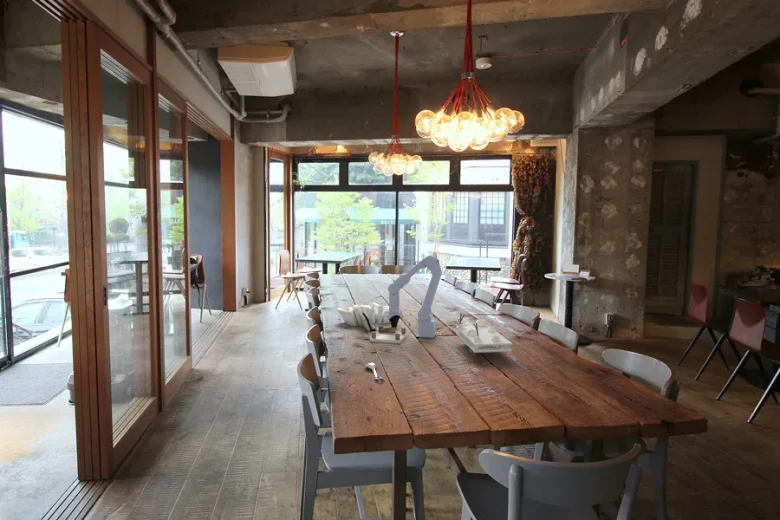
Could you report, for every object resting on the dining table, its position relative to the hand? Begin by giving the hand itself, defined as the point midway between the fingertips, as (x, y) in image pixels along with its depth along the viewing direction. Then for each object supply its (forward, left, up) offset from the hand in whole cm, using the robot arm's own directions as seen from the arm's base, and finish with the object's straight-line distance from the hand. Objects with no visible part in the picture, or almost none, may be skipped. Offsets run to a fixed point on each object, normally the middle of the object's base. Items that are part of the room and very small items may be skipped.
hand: (394, 329), depth 259 cm
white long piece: (-10, +66, -3) cm, 67 cm away
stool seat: (0, +10, -3) cm, 10 cm away
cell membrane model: (-48, +21, -3) cm, 52 cm away
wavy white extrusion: (+24, -24, -3) cm, 35 cm away
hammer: (+3, +3, -1) cm, 5 cm away
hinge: (+19, -10, -3) cm, 22 cm away
